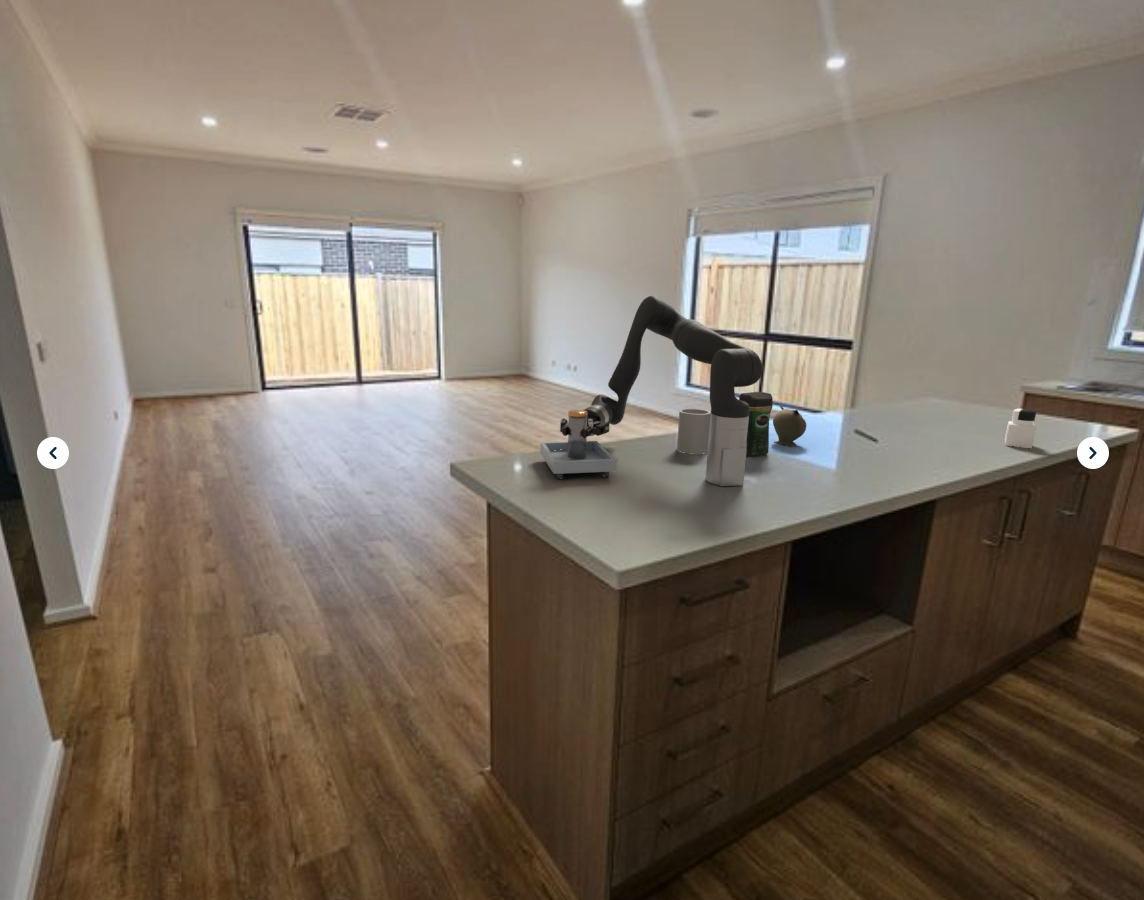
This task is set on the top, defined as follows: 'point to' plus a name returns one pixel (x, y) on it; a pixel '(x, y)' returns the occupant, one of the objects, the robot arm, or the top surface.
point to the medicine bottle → (1021, 429)
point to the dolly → (561, 463)
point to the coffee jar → (758, 422)
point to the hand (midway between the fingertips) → (574, 432)
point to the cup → (693, 431)
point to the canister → (577, 434)
